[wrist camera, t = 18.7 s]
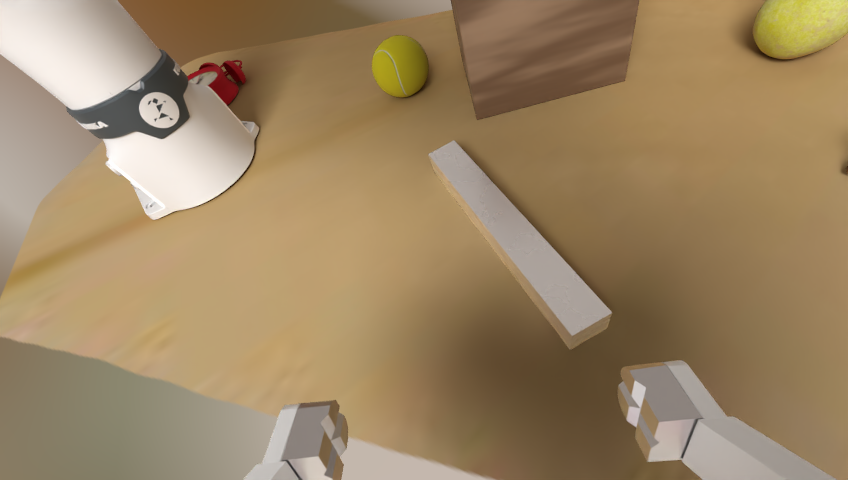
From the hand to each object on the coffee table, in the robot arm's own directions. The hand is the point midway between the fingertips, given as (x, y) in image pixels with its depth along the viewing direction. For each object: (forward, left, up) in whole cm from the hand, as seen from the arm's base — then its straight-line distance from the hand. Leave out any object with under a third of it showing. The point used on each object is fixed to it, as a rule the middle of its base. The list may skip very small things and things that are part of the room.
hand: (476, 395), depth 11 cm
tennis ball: (-32, +30, -16) cm, 46 cm away
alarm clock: (-69, +19, -16) cm, 73 cm away
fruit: (+5, +45, -16) cm, 48 cm away
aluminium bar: (-9, +14, -16) cm, 23 cm away
